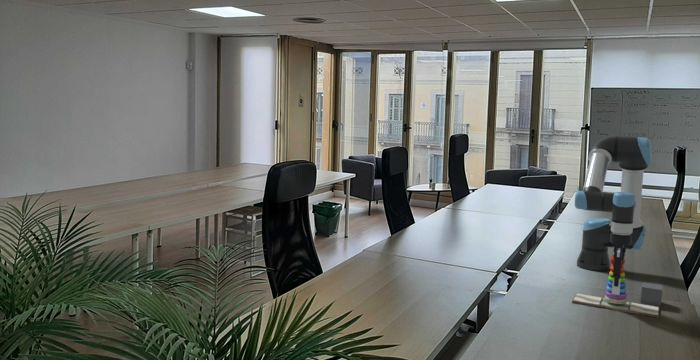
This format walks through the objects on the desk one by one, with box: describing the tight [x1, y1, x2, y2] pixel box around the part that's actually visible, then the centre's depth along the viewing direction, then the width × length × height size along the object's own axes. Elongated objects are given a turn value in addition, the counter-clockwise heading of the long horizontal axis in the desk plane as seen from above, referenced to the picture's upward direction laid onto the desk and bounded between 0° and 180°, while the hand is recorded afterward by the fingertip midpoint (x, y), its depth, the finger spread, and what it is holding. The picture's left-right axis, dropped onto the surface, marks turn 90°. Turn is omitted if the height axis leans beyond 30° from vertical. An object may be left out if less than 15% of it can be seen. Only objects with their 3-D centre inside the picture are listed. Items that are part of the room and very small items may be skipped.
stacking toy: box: [604, 254, 628, 304], centre depth 223 cm, size 8×8×19 cm
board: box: [571, 293, 660, 319], centre depth 224 cm, size 11×30×1 cm, turn 61°
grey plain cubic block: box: [639, 282, 663, 308], centre depth 228 cm, size 7×7×7 cm
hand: (616, 291), depth 224 cm, fingers closed on stacking toy, 7 cm apart
